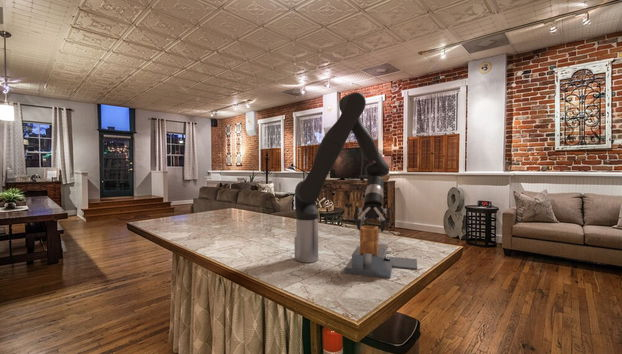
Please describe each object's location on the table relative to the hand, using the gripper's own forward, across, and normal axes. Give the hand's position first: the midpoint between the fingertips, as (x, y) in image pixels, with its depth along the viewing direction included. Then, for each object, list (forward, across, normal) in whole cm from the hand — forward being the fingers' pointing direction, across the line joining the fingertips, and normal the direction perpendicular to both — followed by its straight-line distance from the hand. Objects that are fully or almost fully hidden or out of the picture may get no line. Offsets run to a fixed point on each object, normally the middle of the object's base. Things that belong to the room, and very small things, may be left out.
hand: (370, 230), depth 111 cm
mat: (+4, +11, +16) cm, 20 cm away
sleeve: (+7, 0, +3) cm, 8 cm away
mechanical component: (-7, +1, +28) cm, 29 cm away
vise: (+12, 0, +8) cm, 15 cm away
